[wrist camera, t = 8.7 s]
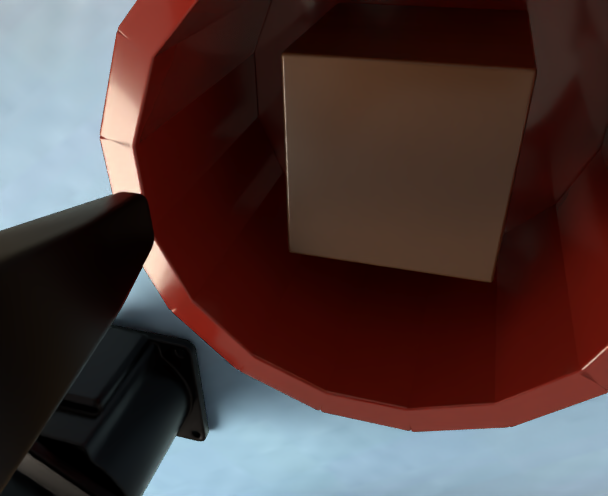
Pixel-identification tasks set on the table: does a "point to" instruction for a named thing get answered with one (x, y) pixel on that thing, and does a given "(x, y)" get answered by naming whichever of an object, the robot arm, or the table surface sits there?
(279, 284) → the pot
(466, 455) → the table surface
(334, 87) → the block
